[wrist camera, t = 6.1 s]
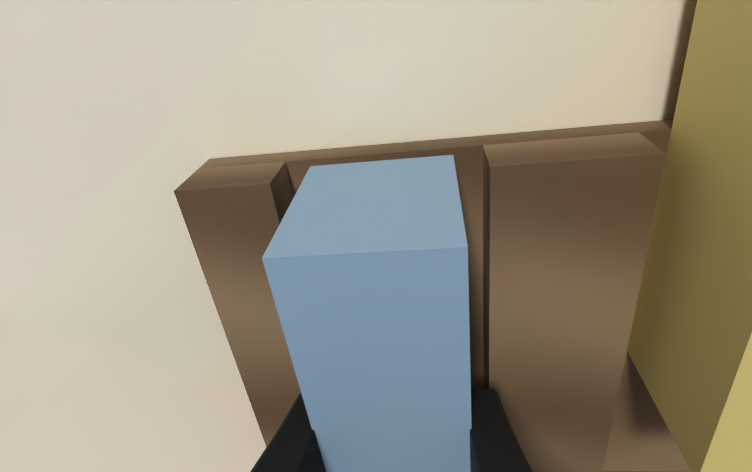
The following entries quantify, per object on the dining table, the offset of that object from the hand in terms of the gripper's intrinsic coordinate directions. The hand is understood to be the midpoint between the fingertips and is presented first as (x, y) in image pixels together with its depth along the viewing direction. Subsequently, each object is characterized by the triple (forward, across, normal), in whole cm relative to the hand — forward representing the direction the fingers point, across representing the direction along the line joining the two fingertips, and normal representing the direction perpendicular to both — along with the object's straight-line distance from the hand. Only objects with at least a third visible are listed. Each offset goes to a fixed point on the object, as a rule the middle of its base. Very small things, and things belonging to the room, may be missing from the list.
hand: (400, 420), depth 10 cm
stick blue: (+2, 0, 0) cm, 2 cm away
